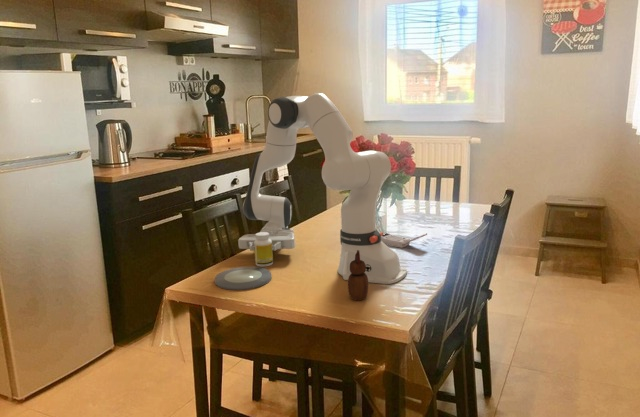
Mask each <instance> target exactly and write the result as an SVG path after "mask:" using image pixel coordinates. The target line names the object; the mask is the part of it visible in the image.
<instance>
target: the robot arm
mask: <svg viewBox="0 0 640 417" xmlns="http://www.w3.org/2000/svg"><path fill="white" fill-rule="evenodd" d="M267 116H268V119H269V121H268V124H267V129H266V138H265V146H264V149H263V150H262V152H260V153H257V155H256V157H255V159H254V163H253V166H252V171H251V173H250V179H249V183H248V187H247V191H246V196H245V199H244V201H243V204H242V213H243V215H244V216H245V217H246V218H247V220H250V221H251V220H252V221H265V222H266V221H267V222H266V224H264V226H263V227H262V228H261V229H260V231H259V232H268V233H269V239H270V240H271V241H272V246H271V248H272V251H274V252H275V251H277V250H293V249H295V248H296V239H295V236H296V235H295V233H294V229H293V228H290V227H289V225H290V224H291V222H292V220H293V210H294V209H293V204H292V202H291V201H290V200H289V198H287V197H285V196H277V195H267V194H261V193H260V187H261V184H262V180H263V175H264V173H266V172H267V171H269V170H273V169H274V170H275V169H277V168H281V167H285V166H286V165H288V164H290V163H291V162H292V160H294V158H295V156H296V155H295V154H296V149H297V138H298V137H297V135H298V131H299V130H300V129H304V128H309V129H310V130H311V131H312V133H313V135H314V136H315V138H316V140H317V142H318V143H319V145H320V147H321V148H322V150H323V154H324V159H325V160H324V163H323V164H322V168H321V178H322V180H323V181H322V182H323V183H324V186H326V187H327V188H328V189H329V190H333V191H349V190H350V191H349V194H348V196H347V197H346V199H345V200H344V201H343V203H342V204H341V207H340V218H341V219H340V220H341V221H340V223H341V224H340V225H341V226H340V227H341V229H340V231H339V232H340V233H339V236H340V238H339V239H340V245H341V247H340V258H339V265H338V268H337V273H338V274H339V275H340V276H342V279H343V280H344V281H348V278H349V276H350V274H351V272H350V263H351V261H353V260H355V254H356V253H357V250H359V253H360V260H362V261H364V262H365V265H366V271H365V272H364V273H365V274H366V275H367V277H368V283H371V284H373V283H374V284H383V285H385V284H386V285H390V284H395V283H397V282H399V281H401V280H403V279H404V278H405V277H406V276H407V274H408V270H407V269H408V268H406V267H403V266H401V264H400V259H399V255H398V253H397V252H396V251H394V250H393V249H391V248H390V247H389V245H386V244H384V243H383V242H382V241H381V236H382V235H383V233H384V231H381V232H379V231H378V229H377V226H376V225H377V224H376V222H377V221H376V220H377V203H378V198H379V195H380V191H381V190H382V187H383V184H384V183H385V181H386V180H387V178H388V177H389V176H390V174H391V171H392V164H391V160H390V158H389V156H388V155H387V154H386V153H385V152H383V151H379V150H378V151H377V150H371V149H369V150H363V151H359V152H358V151H357V152H355V151H354V150H353V148H352V146H351V143H352V140H353V137H354V133H353V132H354V131H353V129H352V128H351V126H350V125H349V123H348V122H347V121H346V120H347V119H345V117H344V116H343V114H342V113H341V111H340V110H339V109H338V107H337V106H336V105H335V103H333V101H332V100H331V99H330V98H329V97H328V96H327V95H326V94H324V93H323V92H321V93H320V92H315V93H312V94H311V95H309V96H307V95H290V96H279V97H277V98H276V97H275V98H274V99H273V100H271V101H270V102H269V105H268V108H267ZM255 240H256V233H251V234H244V235H242V236H241V237H239V239H237V242H238V249H240V250H249V251H253V252H254V241H255Z"/></svg>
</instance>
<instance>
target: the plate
mask: <svg viewBox="0 0 640 417" xmlns="http://www.w3.org/2000/svg"><path fill="white" fill-rule="evenodd" d="M271 280H272V272H271V271H270V270H269V269H268V268H267V269H266V268H264V267H259V266H240V267H238V266H237V267H233V268H230V269H226V270H223V271H221V272H219V273H218V274H216V276H214V284H215V285H216V286H217V287H218V288H220V289H223V290H227V291H228V290H229V291H246V290H252V289H256V288H260V287H263V286H265V285H266V284H267V285H268V283H270V282H271Z"/></svg>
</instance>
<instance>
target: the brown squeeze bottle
mask: <svg viewBox="0 0 640 417" xmlns="http://www.w3.org/2000/svg"><path fill="white" fill-rule="evenodd" d="M365 271H366V265H365V262H364V261H362V260H360V253H359V250H357V253H356V254H355V260H353V261H351V263H350V272H351V274H350V276H349V278H348V280H347V292H348V295H349V296H350V298H351V299H352V300H353V301H362V300H364V299H366V298H367V295H368V292H369V282H368V277H367V275H366V274H365V273H364V272H365Z"/></svg>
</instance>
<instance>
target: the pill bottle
mask: <svg viewBox="0 0 640 417" xmlns="http://www.w3.org/2000/svg"><path fill="white" fill-rule="evenodd" d="M255 234H256V240H255V241H254V251H253V252H254V262H255V265H256V267H260V268H264V267H269V266H272V265H273V264H274V254H273V251H272V248H271V246H272V241H271V240H270V239H269V233H268V232H260V231H259V232H257V233H255Z"/></svg>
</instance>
